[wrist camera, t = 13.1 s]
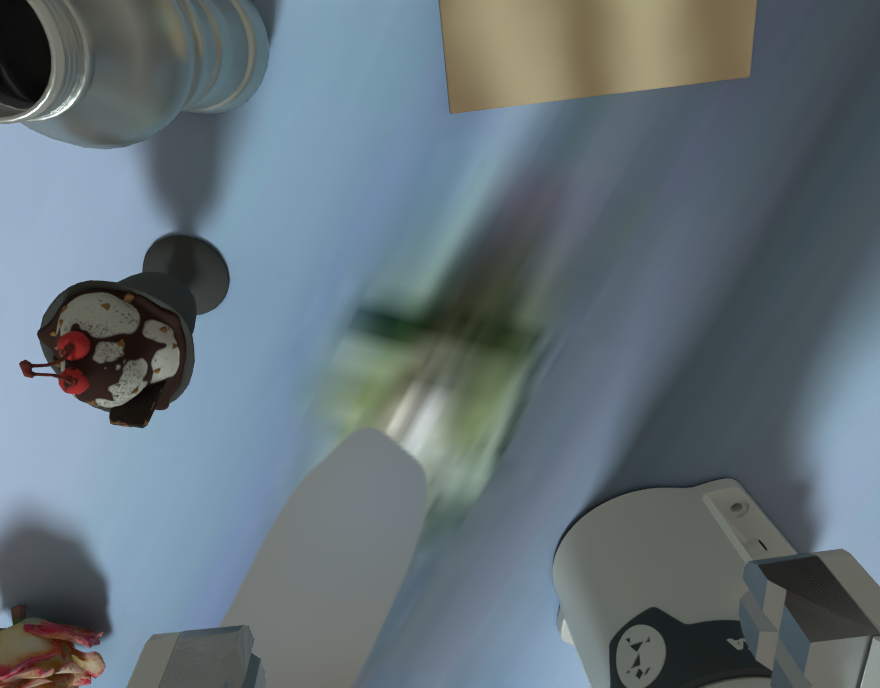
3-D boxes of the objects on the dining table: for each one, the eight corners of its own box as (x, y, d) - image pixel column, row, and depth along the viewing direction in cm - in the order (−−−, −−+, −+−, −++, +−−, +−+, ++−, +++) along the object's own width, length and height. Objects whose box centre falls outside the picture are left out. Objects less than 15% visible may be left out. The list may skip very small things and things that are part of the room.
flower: (-65, 646, 47) (-62, 763, 43) (-43, 588, 42) (-37, 713, 38) (81, 616, 54) (95, 715, 50) (113, 563, 49) (132, 667, 45)
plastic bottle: (245, 133, 35) (74, 236, 17) (122, 60, 33) (-220, 86, 15) (300, 20, 32) (172, -4, 14) (172, -65, 31) (-159, -215, 12)
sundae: (137, 203, 36) (-23, 303, 22) (256, 244, 37) (172, 361, 24) (117, 306, 38) (-37, 451, 25) (229, 340, 40) (140, 496, 26)
